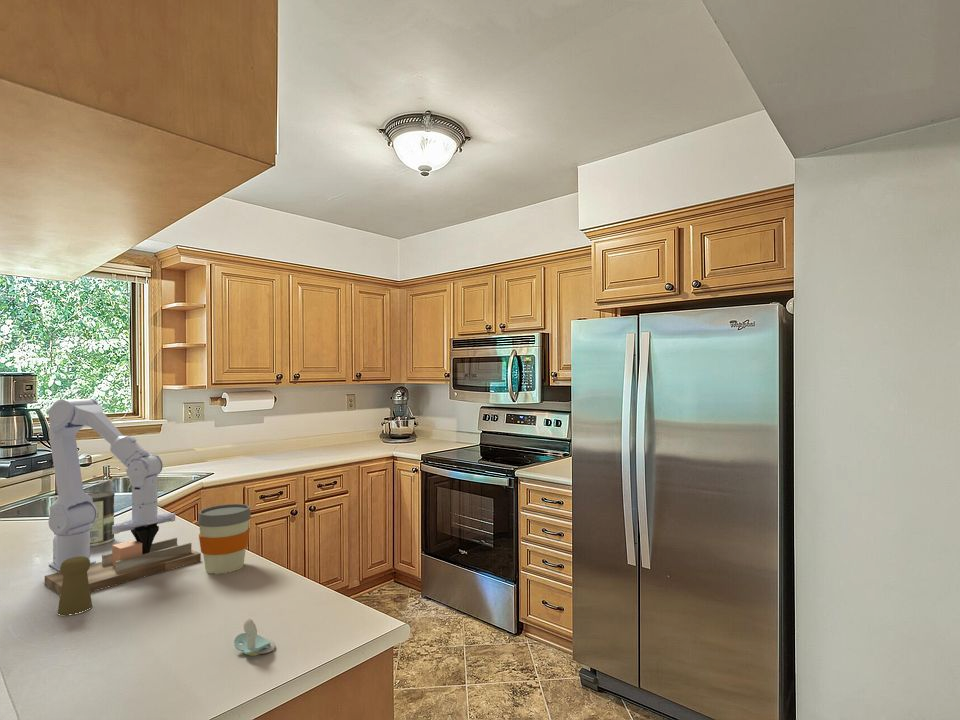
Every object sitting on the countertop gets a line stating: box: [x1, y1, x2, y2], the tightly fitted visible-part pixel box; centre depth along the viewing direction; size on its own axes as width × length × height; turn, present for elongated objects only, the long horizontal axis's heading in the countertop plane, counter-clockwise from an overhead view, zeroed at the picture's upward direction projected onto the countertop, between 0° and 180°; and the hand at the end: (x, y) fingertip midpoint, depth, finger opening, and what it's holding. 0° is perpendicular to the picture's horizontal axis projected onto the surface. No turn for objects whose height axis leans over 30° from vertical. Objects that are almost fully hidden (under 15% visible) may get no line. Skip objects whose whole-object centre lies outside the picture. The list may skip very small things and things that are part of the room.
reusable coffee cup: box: [197, 503, 252, 575], centre depth 141 cm, size 13×13×15 cm
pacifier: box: [233, 617, 276, 657], centre depth 99 cm, size 7×6×6 cm
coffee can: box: [73, 491, 115, 547], centre depth 165 cm, size 10×10×14 cm
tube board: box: [44, 537, 202, 595], centre depth 139 cm, size 15×30×4 cm, turn 144°
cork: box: [57, 556, 93, 615], centre depth 117 cm, size 6×6×11 cm
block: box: [111, 539, 142, 566], centre depth 139 cm, size 5×5×5 cm
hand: (144, 554), depth 142 cm, fingers closed
